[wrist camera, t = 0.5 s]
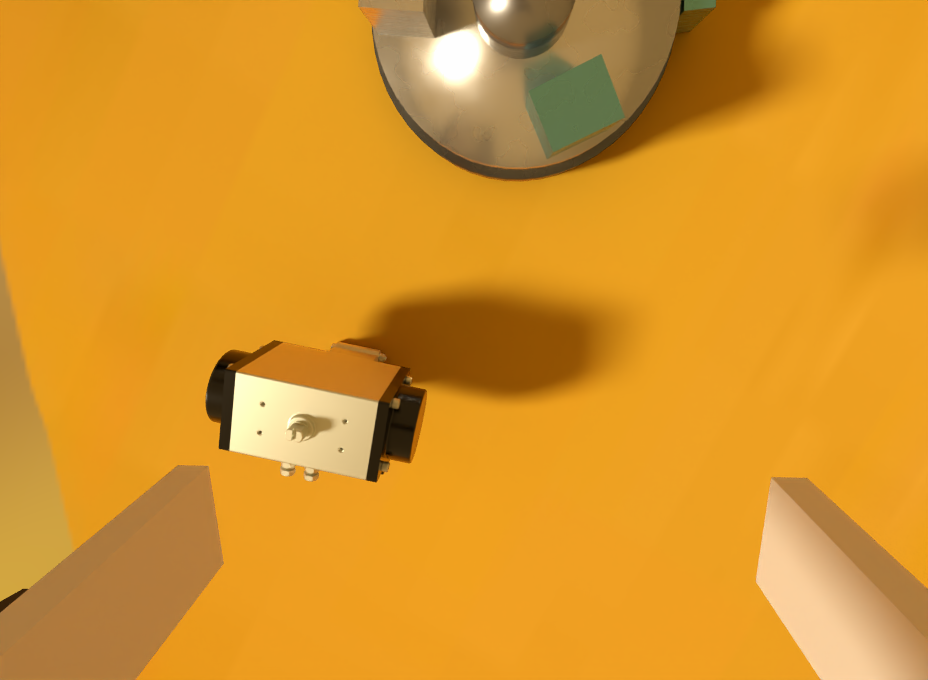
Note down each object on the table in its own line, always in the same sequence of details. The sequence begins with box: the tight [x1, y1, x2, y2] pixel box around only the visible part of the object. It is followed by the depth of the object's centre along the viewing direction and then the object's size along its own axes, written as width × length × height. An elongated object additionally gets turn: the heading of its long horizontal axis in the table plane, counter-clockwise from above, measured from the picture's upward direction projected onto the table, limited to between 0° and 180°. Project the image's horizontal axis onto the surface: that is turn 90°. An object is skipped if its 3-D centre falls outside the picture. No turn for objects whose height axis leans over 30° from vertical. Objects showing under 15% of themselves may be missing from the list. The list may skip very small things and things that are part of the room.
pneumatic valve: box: [206, 340, 427, 482], centre depth 33 cm, size 6×12×12 cm, turn 80°
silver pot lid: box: [372, 0, 716, 181], centre depth 30 cm, size 17×18×4 cm
